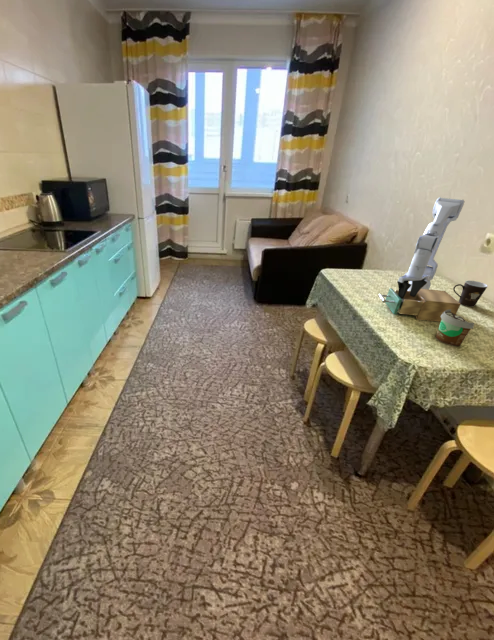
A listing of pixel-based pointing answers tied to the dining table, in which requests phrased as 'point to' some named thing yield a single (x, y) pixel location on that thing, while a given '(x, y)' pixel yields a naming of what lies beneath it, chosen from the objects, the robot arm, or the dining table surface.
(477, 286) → the coffee mug
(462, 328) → the food container
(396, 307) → the drawer
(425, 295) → the cabinet
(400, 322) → the dining table surface
